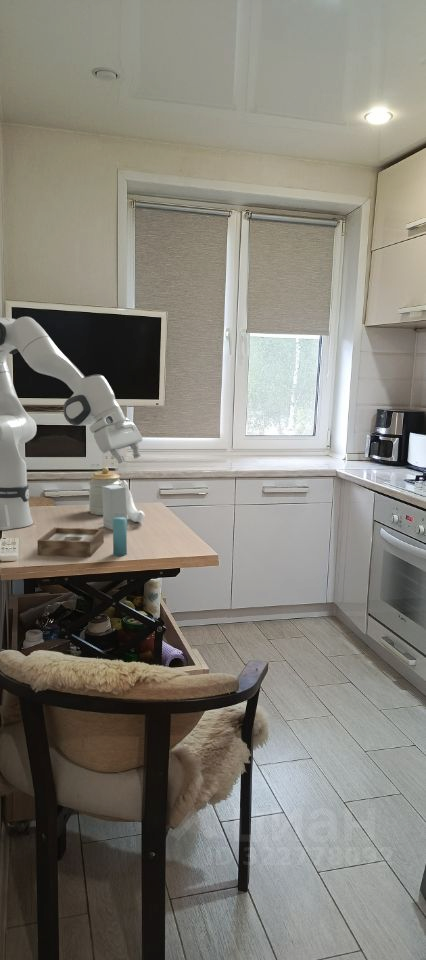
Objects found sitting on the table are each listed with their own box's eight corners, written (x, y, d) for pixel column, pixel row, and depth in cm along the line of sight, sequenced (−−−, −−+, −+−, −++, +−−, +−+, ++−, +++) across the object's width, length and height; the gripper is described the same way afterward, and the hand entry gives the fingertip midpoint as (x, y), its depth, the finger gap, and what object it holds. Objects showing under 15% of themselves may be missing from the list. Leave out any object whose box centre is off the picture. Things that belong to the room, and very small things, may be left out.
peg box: (37, 554, 192) (37, 540, 192) (55, 541, 208) (54, 527, 207) (90, 556, 191) (90, 542, 191) (103, 542, 207) (103, 529, 206)
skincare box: (127, 529, 225) (127, 487, 222) (111, 531, 222) (111, 488, 219) (117, 524, 232) (116, 483, 229) (101, 526, 229) (101, 485, 226)
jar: (85, 510, 254) (84, 465, 251) (117, 507, 259) (117, 464, 256) (93, 517, 243) (92, 470, 240) (126, 514, 248) (126, 469, 245)
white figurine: (138, 527, 227) (137, 487, 224) (118, 517, 243) (118, 478, 241) (150, 526, 229) (150, 486, 227) (130, 515, 246) (130, 477, 243)
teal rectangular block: (112, 555, 193) (111, 519, 191) (115, 551, 197) (114, 516, 195) (125, 556, 193) (124, 520, 191) (127, 552, 196) (127, 517, 195)
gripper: (122, 421, 217) (139, 458, 217) (86, 428, 199) (105, 469, 199) (136, 413, 214) (153, 451, 214) (100, 420, 196) (120, 461, 196)
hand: (130, 460), depth 206 cm, fingers open, 8 cm apart
